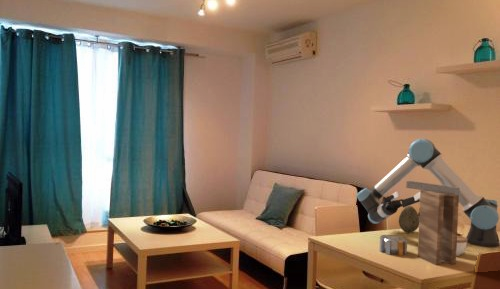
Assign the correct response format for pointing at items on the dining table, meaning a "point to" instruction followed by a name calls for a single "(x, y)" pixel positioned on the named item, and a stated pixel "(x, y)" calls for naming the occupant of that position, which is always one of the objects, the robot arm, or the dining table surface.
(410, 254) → the dining table surface
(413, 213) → the decorative egg
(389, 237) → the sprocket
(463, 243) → the lidded jar
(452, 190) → the steel bar
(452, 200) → the tall wooden pillar
